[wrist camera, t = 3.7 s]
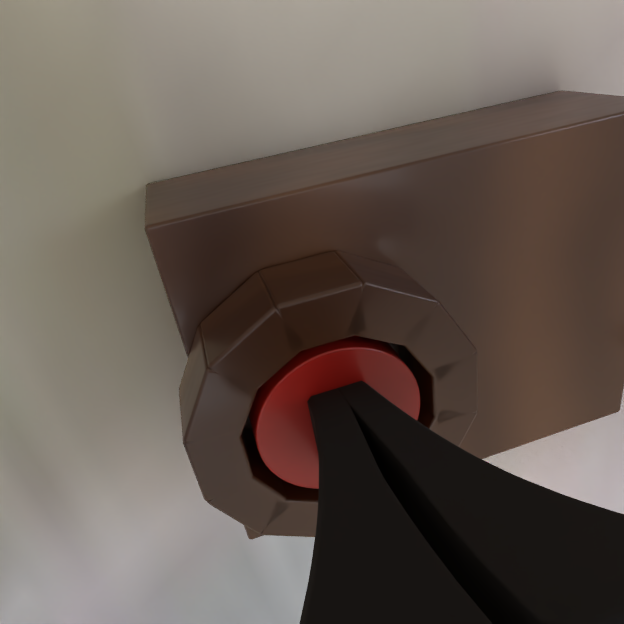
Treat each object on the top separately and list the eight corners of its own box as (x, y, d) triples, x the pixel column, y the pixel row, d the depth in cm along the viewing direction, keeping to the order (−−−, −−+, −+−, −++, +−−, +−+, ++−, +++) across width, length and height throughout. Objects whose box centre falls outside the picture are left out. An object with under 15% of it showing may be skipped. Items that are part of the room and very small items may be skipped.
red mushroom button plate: (219, 456, 19) (245, 609, 14) (128, 187, 14) (116, 267, 9) (543, 353, 21) (671, 451, 16) (561, 89, 16) (754, 107, 11)
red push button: (261, 461, 14) (274, 510, 13) (226, 338, 12) (237, 379, 11) (397, 417, 15) (425, 458, 13) (384, 293, 13) (415, 326, 11)
